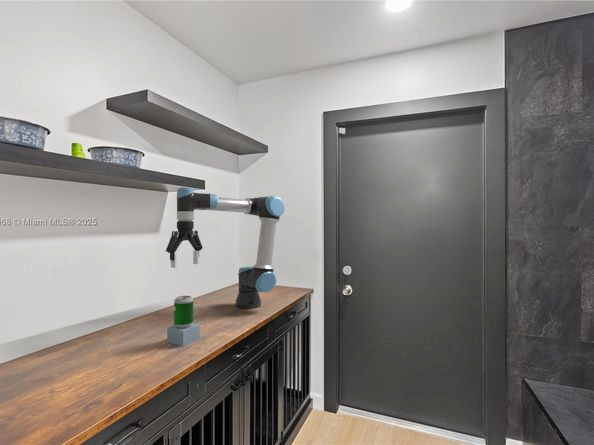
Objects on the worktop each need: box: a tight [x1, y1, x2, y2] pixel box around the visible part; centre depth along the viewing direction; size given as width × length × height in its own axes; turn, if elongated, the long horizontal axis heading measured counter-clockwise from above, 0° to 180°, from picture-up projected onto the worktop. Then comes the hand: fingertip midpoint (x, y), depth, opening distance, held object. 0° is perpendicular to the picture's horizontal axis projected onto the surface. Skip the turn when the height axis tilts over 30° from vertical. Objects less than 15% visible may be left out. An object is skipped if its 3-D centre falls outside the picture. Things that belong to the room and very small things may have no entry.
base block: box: [166, 322, 201, 347], centre depth 131 cm, size 9×9×6 cm
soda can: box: [173, 295, 194, 328], centre depth 131 cm, size 8×8×12 cm
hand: (185, 265), depth 149 cm, fingers open, 13 cm apart
